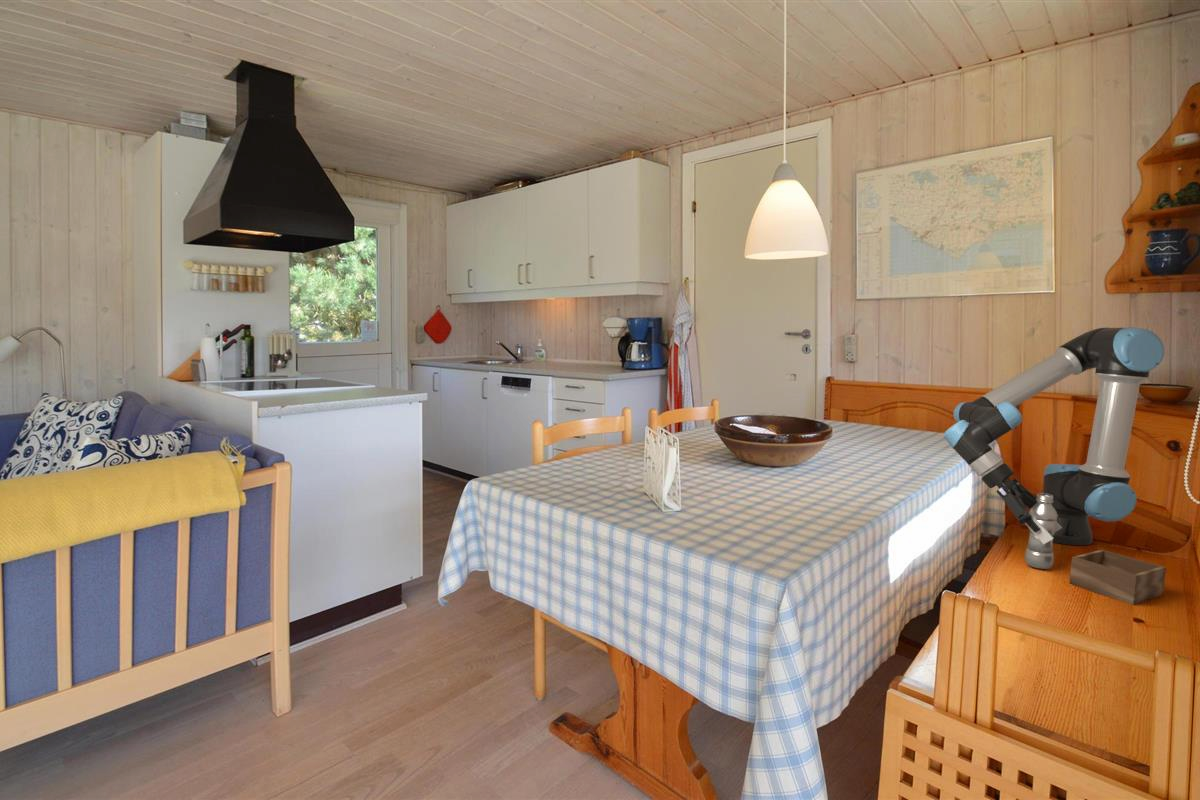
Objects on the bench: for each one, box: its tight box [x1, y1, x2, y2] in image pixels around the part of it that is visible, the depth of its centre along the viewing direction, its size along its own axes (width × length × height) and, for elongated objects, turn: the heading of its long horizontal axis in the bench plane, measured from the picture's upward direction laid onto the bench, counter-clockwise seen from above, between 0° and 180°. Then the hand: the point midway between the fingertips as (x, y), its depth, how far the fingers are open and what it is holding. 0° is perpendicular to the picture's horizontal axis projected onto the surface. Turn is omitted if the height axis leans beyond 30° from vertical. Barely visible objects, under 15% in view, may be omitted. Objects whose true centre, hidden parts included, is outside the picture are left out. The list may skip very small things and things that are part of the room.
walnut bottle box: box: [1068, 549, 1167, 606], centre depth 158 cm, size 14×14×7 cm
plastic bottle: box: [1024, 492, 1058, 570], centre depth 172 cm, size 6×7×20 cm
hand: (1053, 535), depth 170 cm, fingers open, 12 cm apart
